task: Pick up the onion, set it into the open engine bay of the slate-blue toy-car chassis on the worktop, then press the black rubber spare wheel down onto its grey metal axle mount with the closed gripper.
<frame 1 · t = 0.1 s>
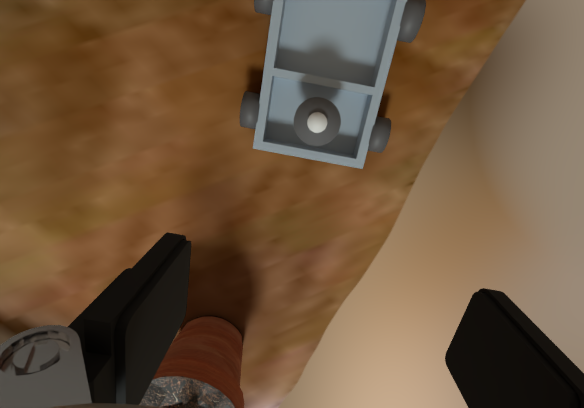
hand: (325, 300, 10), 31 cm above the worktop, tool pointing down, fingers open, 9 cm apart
spare wheel: (316, 121, 32), point 6 cm above the worktop, slide at 0.0 cm
potted plant: (215, 334, 51), on the worktop
chassis: (324, 68, 36), on the worktop
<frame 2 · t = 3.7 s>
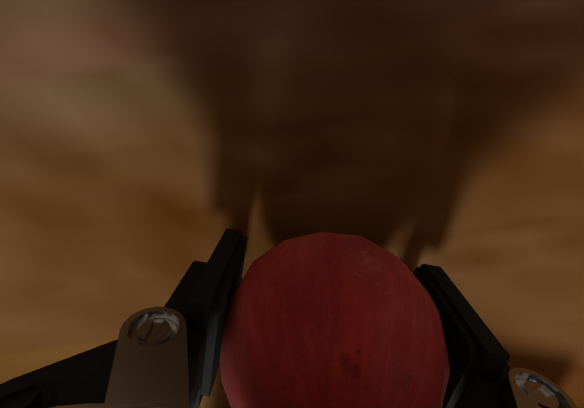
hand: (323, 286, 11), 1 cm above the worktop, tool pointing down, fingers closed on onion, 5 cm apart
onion: (321, 264, 12), on the worktop, touching gripper
when the fingers open (4 cm above the worktop, at t = 8.4 s): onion drops 1 cm, resting on chassis.
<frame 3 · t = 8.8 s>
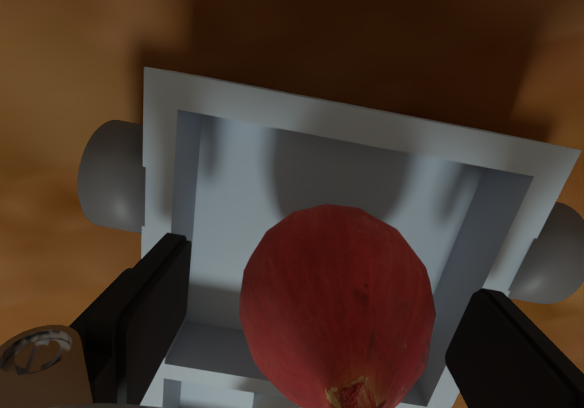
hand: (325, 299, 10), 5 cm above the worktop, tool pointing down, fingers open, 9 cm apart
chassis: (302, 305, 16), on the worktop
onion: (319, 244, 13), point 1 cm above the worktop, touching chassis
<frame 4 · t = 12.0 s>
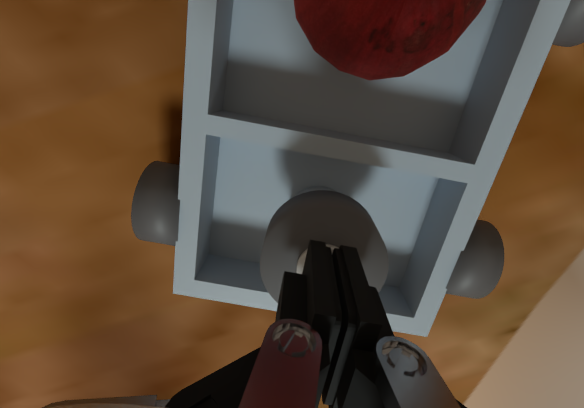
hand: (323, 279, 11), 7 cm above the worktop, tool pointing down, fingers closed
spare wheel: (322, 256, 12), point 6 cm above the worktop, slide at 0.7 cm, touching gripper
chassis: (339, 106, 16), on the worktop
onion: (363, 6, 13), point 1 cm above the worktop, touching chassis
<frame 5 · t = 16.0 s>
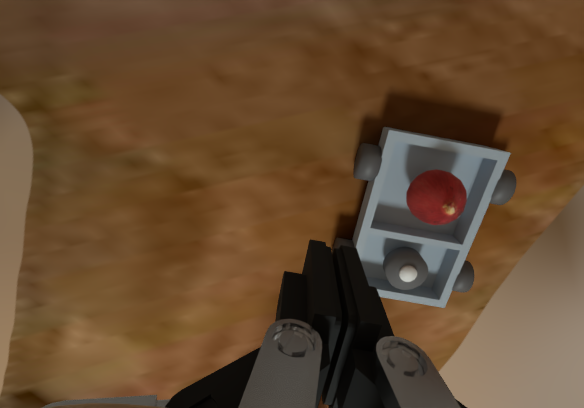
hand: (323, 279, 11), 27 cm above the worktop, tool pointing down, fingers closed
spare wheel: (405, 269, 38), point 4 cm above the worktop, slide at 2.4 cm
chassis: (409, 215, 39), on the worktop
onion: (422, 186, 37), point 1 cm above the worktop, touching chassis
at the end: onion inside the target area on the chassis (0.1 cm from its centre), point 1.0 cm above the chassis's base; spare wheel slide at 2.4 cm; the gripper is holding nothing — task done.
